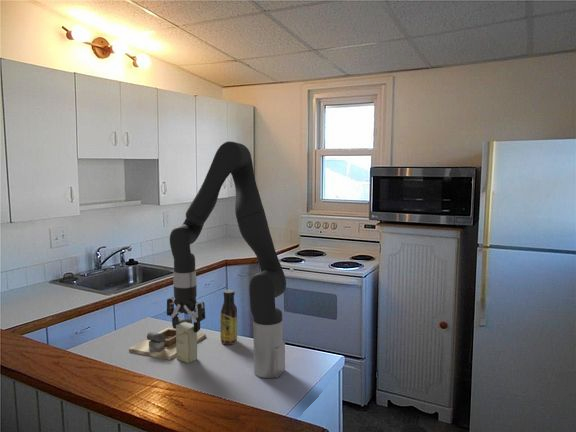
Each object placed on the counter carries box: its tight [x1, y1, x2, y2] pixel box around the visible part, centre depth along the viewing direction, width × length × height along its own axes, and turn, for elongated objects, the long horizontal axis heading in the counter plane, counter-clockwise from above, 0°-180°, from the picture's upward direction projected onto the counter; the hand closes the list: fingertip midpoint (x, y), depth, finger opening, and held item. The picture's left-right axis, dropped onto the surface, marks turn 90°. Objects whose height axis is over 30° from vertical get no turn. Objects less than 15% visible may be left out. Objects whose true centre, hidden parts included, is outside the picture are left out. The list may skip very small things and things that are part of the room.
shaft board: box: [128, 317, 207, 361], centre depth 167 cm, size 18×22×7 cm
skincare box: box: [175, 322, 198, 364], centre depth 154 cm, size 6×4×12 cm
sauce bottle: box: [219, 289, 238, 346], centre depth 168 cm, size 6×6×20 cm
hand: (186, 329), depth 154 cm, fingers open, 8 cm apart
